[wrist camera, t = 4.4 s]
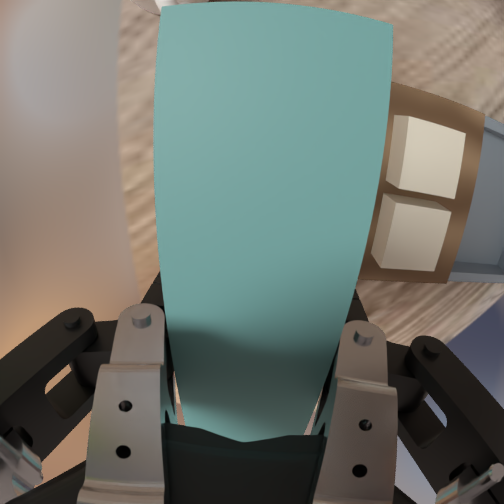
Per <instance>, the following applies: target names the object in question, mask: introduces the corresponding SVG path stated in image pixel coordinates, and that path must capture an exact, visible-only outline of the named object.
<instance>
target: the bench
mask: <svg viewBox="0 0 504 504" xmlns="http://www.w3.org/2000/svg"><path fill="white" fill-rule="evenodd" d="M394 115H401V116H410V117H414V118H418V119H421V120H425V121H428V122H432V123H435V124H438V125H442V126H445V127H448V128H451V129H454V130H457V131H460V132H463V133H465V134H466V136H465V143H464V150H463V157H462V163H461V169H460V175H459V180H458V185H457V190H456V194H455V199H451V198H446V197H441V196H436V195H431V194H426V193H421V192H415V191H410V190H404V189H399V188H397V187H395V186H394V185H392V184H391V183H389V182H388V181H386V175H387V169H388V162H389V155H390V148H391V140H392V132H393V123H394ZM484 124H485V114H483V113H481V112H479V111H476V110H474V109H471V108H469V107H467V106H464V105H462V104H459V103H456V102H454V101H451V100H448V99H446V98H443V97H440V96H437V95H434V94H431V93H428V92H425V91H422V90H419V89H415V88H412V87H409V86H405V85H402V84H398V83H394V82H391V89H390V101H389V111H388V121H387V129H386V137H385V145H384V152H383V159H382V165H381V172H380V178H379V184H378V189H377V195H376V200H375V205H374V210H373V215H372V220H371V225H370V229H369V234H368V238H367V243H366V247H365V251H364V255H363V260H362V264H361V268H360V271H359V275H358V279H361V280H380V281H399V282H421V283H444V284H447V281H448V279H449V276H450V273H451V270H452V267H453V265H454V262H455V259H456V256H457V252H458V249H459V246H460V243H461V240H462V236H463V233H464V229H465V226H466V222H467V218H468V214H469V210H470V206H471V202H472V198H473V193H474V189H475V184H476V179H477V173H478V168H479V162H480V156H481V149H482V142H483V133H484ZM383 193H387V194H393V195H400V196H406V197H412V198H418V199H423V200H429V201H434V202H437V203H439V204H440V205H442V206H443V207H445V208H446V209H448V210H449V211H451V216H450V220H449V224H448V227H447V231H446V235H445V238H444V242H443V245H442V248H441V252H440V255H439V258H438V261H437V264H436V267H435V270H434V271H420V270H404V269H389V268H380V266H379V265H378V263H377V262H376V260H375V258H374V257H373V255H372V254H371V250H372V246H373V242H374V237H375V233H376V228H377V223H378V219H379V214H380V209H381V203H382V198H383Z"/></svg>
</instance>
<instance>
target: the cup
mask: <svg viewBox="0 0 504 504" xmlns="http://www.w3.org/2000/svg"><path fill="white" fill-rule="evenodd" d="M131 1H132V2H134V3H135V4H136V5H138V6H139V7H141V8H143V9H144V10H146V11H148V12H151V13H154V14H159V15H161V8H162V6H170V5H179V4H190V3H204V2H208V1H209V0H131Z"/></svg>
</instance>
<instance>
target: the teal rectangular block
mask: <svg viewBox="0 0 504 504" xmlns="http://www.w3.org/2000/svg"><path fill="white" fill-rule="evenodd" d="M392 53H393V25H392V24H389V23H385V22H382V21H378V20H374V19H371V18H367V17H362V16H358V15H354V14H349V13H344V12H339V11H334V10H328V9H322V8H316V7H309V6H301V5H292V4H281V3H267V2H204V3H190V4H179V5H170V6H162V8H161V16H160V25H159V34H158V45H157V58H156V73H155V92H154V189H155V210H156V226H157V240H158V252H159V263H160V273H161V282H162V291H163V299H164V307H165V315H166V322H167V329H168V335H169V342H170V348H171V354H172V360H173V366H174V371H175V377H176V382H177V387H178V392H179V397H180V402H181V407H182V411H183V415H184V420H185V425H186V426H190V427H197V428H202V429H204V430H207V431H210V432H213V433H215V434H218V435H221V436H224V437H227V438H230V439H234V440H237V441H240V442H251V441H257V440H264V439H270V438H275V437H281V436H286V435H304V432H305V430H306V428H307V425H308V423H309V421H310V418H311V416H312V413H313V411H314V409H315V406H316V404H317V401H318V398H319V396H320V393H321V391H322V388H323V385H324V383H325V380H326V377H327V375H328V372H329V369H330V366H331V363H332V361H333V358H334V355H335V352H336V349H337V346H338V343H339V340H340V337H341V334H342V331H343V327H344V324H345V321H346V318H347V314H348V311H349V308H350V304H351V301H352V297H353V294H354V290H355V286H356V283H357V279H358V275H359V271H360V268H361V264H362V260H363V255H364V251H365V247H366V243H367V238H368V234H369V229H370V225H371V220H372V215H373V210H374V205H375V200H376V195H377V189H378V184H379V178H380V172H381V165H382V159H383V152H384V145H385V137H386V129H387V121H388V111H389V101H390V89H391V74H392Z"/></svg>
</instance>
